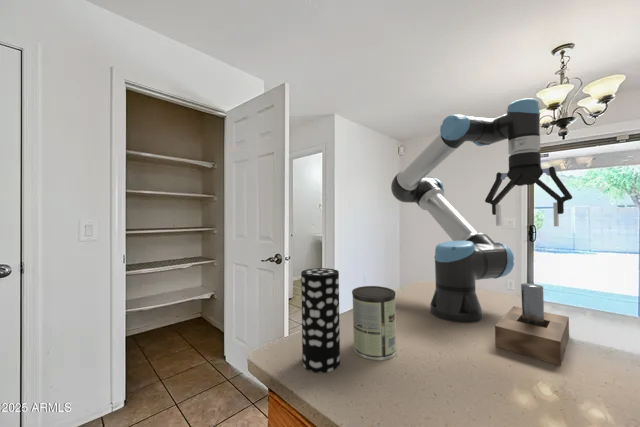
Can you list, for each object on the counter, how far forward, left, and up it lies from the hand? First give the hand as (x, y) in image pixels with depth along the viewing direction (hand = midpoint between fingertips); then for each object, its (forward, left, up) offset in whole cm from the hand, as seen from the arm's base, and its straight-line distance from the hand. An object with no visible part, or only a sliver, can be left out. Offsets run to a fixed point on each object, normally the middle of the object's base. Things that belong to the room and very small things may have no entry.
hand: (525, 226), depth 79 cm
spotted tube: (-28, -57, -29) cm, 70 cm away
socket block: (+3, -12, -29) cm, 31 cm away
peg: (+3, -12, -29) cm, 31 cm away
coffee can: (-23, -44, -29) cm, 57 cm away
